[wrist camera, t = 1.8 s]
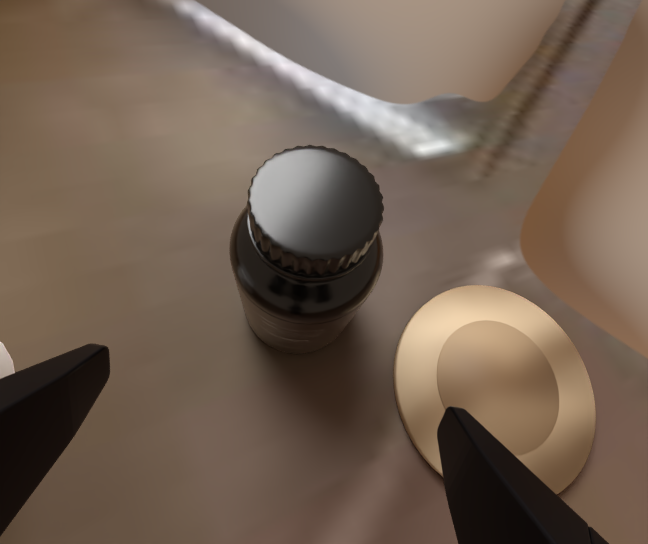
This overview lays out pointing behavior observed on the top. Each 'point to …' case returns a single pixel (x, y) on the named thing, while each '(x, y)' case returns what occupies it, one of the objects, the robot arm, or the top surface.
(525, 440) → the beige round plate
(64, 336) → the top surface
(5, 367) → the cylinder with rectangular tab
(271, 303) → the supplement bottle
